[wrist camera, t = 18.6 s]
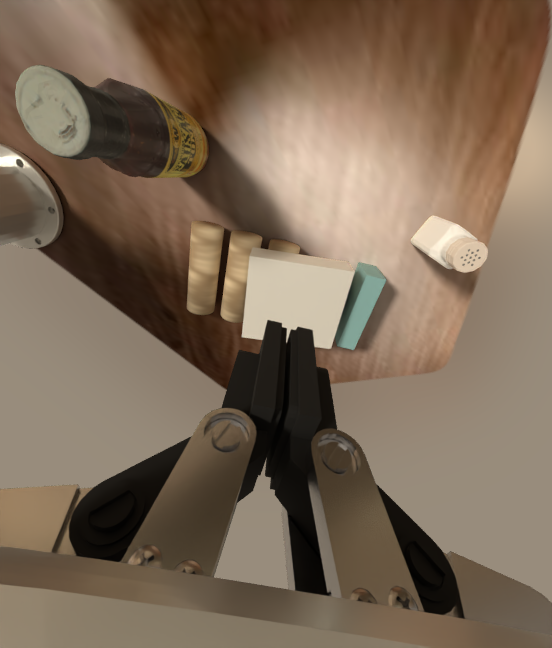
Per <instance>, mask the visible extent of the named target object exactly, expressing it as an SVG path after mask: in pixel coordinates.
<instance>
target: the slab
mask: <svg viewBox="0 0 552 648" xmlns="http://www.w3.org/2000/svg"><path fill="white" fill-rule="evenodd" d="M354 273H355V271H354V270H353V268H352V266H351V265H350V263H349V262H347V261H340V260H334V259H327V258H321V257H314V256H307V255H301V254H294V253H288V252H281V251H274V250H268V249H261V248H255V247H253V248H252V251H251V253H250V257H249V267H248V277H247V288H246V298H245V309H244V319H243V330H242V337H245V338H253V339H260V340H263V336H264V332H265V328H266V324H267V320H271V321H275V322H280V323H282V327H284V328H287V339H286V343H287V340H288V337H289V334H290V331H291V329H293V330H296V329H297V327H302V328H307V329H311V330H313V337H314V347H319V348H327V349H331V347H332V344H333V340H334V337H335V334H336V331H337V328H338V324H339V321H340V318H341V315H342V311H343V308H344V305H345V302H346V299H347V295H348V292H349V289H350V286H351V283H352V279H353V276H354Z"/></svg>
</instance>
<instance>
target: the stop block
mask: <svg viewBox="0 0 552 648" xmlns="http://www.w3.org/2000/svg"><path fill="white" fill-rule="evenodd" d="M385 282H386V279H385V277H384V276H383V275H382V273H381V272H380V271H379V269H378V268H377V267H376V266H373V265H368V264H364V263H360V262H359V263H358V266H357V268H356V271H355V273H354V276H353V279H352V283H351V286H350V289H349V292H348V295H347V299H346V302H345V305H344V308H343V311H342V315H341V318H340V321H339V324H338V328H337V331H336V334H335V339H336V344H337V346H338V347H343V348H347V349H352V350H354V349H355V346H356V344H357V342H358V340H359V338H360V336H361V333H362V331H363V329H364V327H365V325H366V323H367V321H368V318H369V316H370V314H371V312H372V310H373V308H374V306H375V303H376V301H377V299H378V297H379V295H380V293H381V291H382V288H383V286H384V284H385Z"/></svg>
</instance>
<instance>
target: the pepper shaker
mask: <svg viewBox="0 0 552 648" xmlns="http://www.w3.org/2000/svg"><path fill="white" fill-rule="evenodd" d="M411 243H412V244H413V245H414V246H416V247H417V248H418V249H420V250H421V251H423V252H424V253H425V254H427V255H428V256H430V257H431V258H432V259H434V260H435V261H437V262H438V263H440V264H441V265H442V266H444V267H445V268H447V269H453V268H454V269H455V270H457V271H460V272H463V273H466V272H471V271H474V270H476V269H477V268H479V267H480V266H482V264H483V263H484V262H485V260H486V259H487V254H488V249H487V247H486V246H485V244H484V243H482V242H479V241H477V238H475V237H474V236H473V235H472V234H470V233H469V232H468V231H466V230H465V229H464V228H462V227H461V226H459V225H458V224H455V223H453V222H450V221H448V220H445V219H443V218H440V217H437V216H431V217H429V218H428V219H427V221H426V222H425V223H424V224H423V225H422V226H421V228H420V229H419V230H418V231H417V232H416V234H415V235H414V236H413V237H412V239H411Z"/></svg>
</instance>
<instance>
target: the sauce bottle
mask: <svg viewBox="0 0 552 648" xmlns="http://www.w3.org/2000/svg"><path fill="white" fill-rule="evenodd" d="M15 96H16V105H17V109H18V112H19V114H20V116H21V119H22V121H23V123H24V126H25V128H26V129H27V131H28V132H29V134H30V135H31V136H32V137H33V139H34V140H35V141H36V142H37V143H38V144H39V145H41V146H42V147H44V148H45V149H46V150H47V151H49V152H51V153H53V154H54V155H57V156H60V157H63V158H70V159H76V160H82V159H88V158H91V157H98V158H99V159H100V160H101V161H102V162H103V163H105V164H106V165H108V166H109V167H111V168H112V169H114V170H117V171H120V172H121V173H123V174H126V175H128V176H132V177H137V176H141V177H145V178H164V177H190V176H192V175H195V174H197V173H198V172H200V171H201V170H202V169H203V168H204V167H205V165H206V162H207V159H208V154H209V144H208V140H207V138H206V136H205V133H204V131H203V129H202V127H201V126H200V124H199V123H198V122H197V121H196V120H195V119H194V118H193V117H192V116H190V115H189V114H187V113H185V112H183V111H182V110H180V109H178V108H176V107H174V106H172V105H170V104H169V103H167V102H165V101H163V100H161V99H160V98H158V97H156V96H154V95H152V94H151V93H149V92H147V91H145V90H143V89H140V88H137V87H134V86H131V85H128V84H125V83H122V82H119V81H116V80H113V79H111V78H107V79H106V80H104V81H103V82H102V83H100V84H99V85H97V86H96V87H88V86H86V85H84V84H83V83H82V82H81V81H79V80H78V79H77V78H75V77H74V76H72V75H70V74H68V73H65V72H62V71H60V70H57V69H54V68H51V67H48V66H43V65H37V66H32V67H29V68H27V69H26V70H25V71H24V72H23V73H22V74H21V75H20V78H19V80H18V82H17V83H16V91H15Z"/></svg>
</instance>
